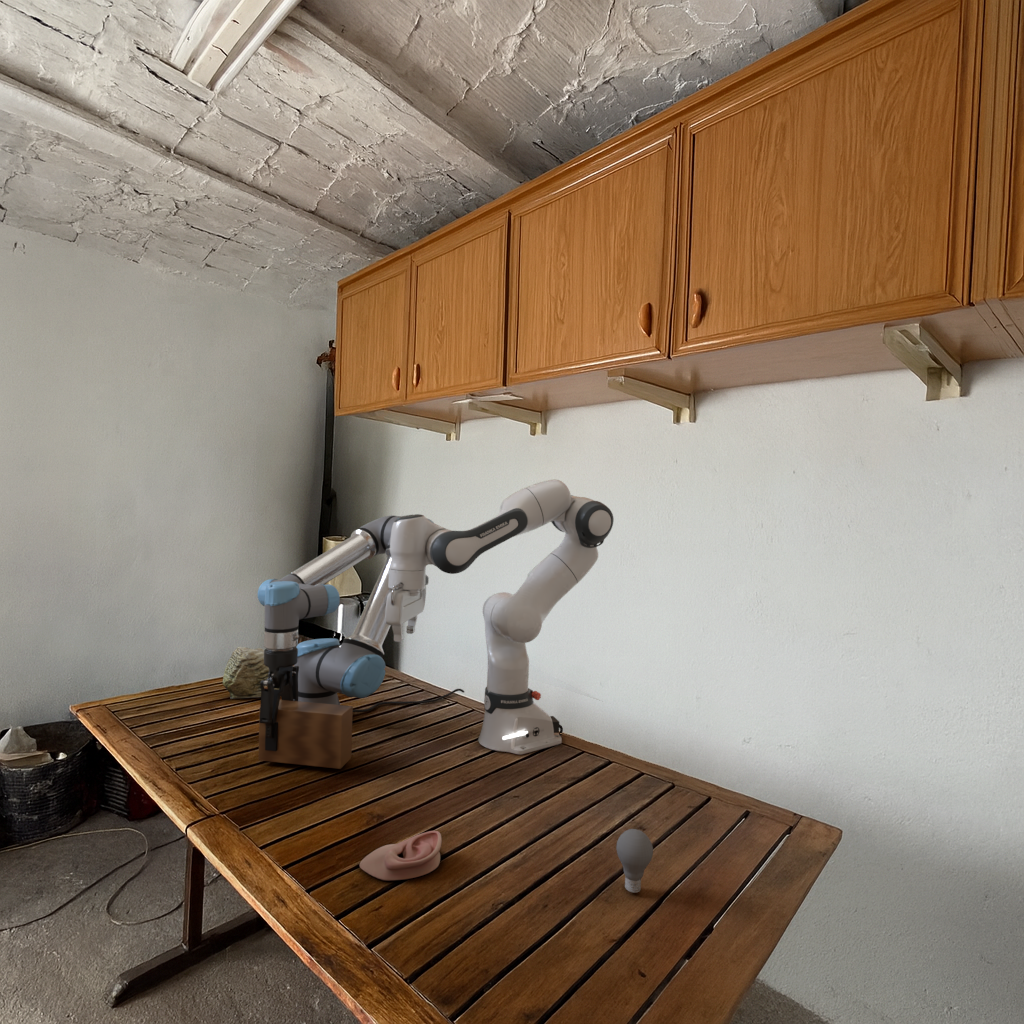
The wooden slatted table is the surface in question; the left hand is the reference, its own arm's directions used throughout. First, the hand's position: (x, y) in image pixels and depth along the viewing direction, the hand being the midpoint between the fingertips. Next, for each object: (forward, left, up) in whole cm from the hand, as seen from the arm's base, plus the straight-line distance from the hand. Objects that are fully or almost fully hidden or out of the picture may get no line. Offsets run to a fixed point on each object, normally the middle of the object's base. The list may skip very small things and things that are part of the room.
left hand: (279, 744), depth 150 cm
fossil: (-22, -50, -4) cm, 54 cm away
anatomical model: (+8, +53, -4) cm, 54 cm away
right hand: (-22, +19, +26) cm, 38 cm away
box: (-3, +6, -3) cm, 7 cm away
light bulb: (-13, +87, -4) cm, 88 cm away
